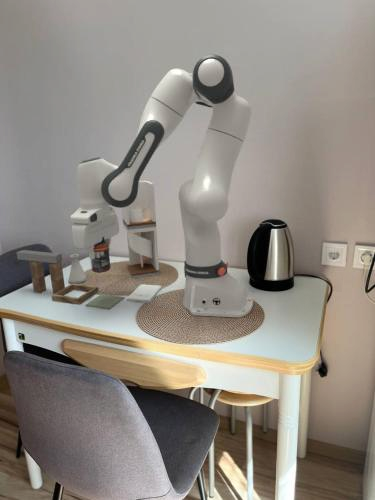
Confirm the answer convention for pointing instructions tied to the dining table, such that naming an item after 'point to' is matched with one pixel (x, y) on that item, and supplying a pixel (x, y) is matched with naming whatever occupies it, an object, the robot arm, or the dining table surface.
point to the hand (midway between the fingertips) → (99, 254)
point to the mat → (105, 301)
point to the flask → (76, 271)
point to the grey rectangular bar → (39, 256)
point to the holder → (58, 284)
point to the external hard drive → (144, 293)
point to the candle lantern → (142, 233)
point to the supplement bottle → (101, 257)
